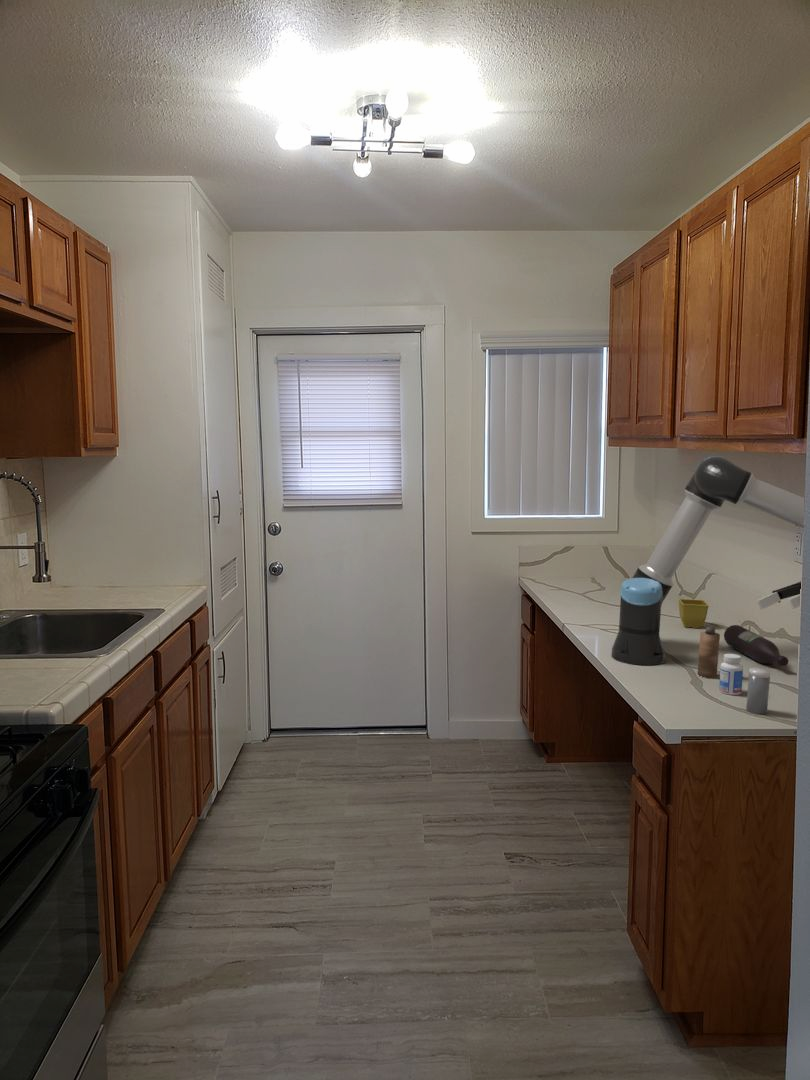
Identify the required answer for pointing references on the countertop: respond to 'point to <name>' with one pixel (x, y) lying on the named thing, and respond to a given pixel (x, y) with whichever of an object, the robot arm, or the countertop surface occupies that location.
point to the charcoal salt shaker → (758, 690)
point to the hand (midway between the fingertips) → (774, 604)
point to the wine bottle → (753, 645)
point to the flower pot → (693, 612)
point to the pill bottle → (731, 675)
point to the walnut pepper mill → (708, 653)
